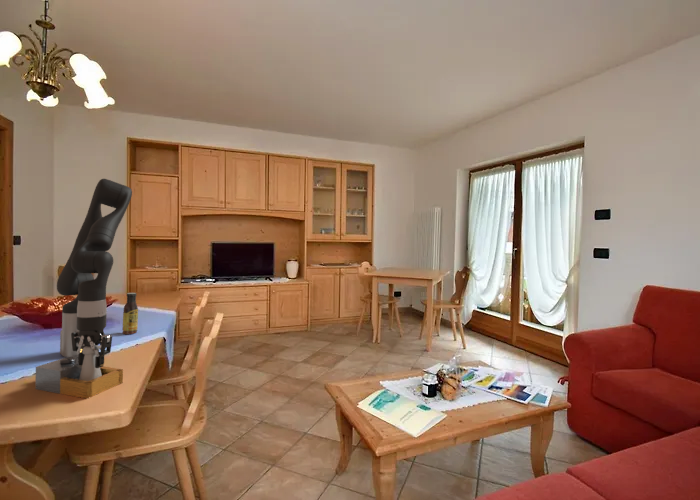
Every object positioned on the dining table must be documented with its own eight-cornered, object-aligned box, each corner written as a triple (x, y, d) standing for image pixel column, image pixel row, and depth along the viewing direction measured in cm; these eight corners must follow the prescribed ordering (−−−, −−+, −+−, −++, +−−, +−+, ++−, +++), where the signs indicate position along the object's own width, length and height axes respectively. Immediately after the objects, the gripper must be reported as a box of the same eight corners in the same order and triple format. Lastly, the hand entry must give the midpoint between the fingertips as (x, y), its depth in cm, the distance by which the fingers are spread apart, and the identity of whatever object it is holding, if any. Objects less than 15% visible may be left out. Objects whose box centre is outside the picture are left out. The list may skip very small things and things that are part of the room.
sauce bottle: (130, 335, 165) (130, 294, 165) (119, 334, 166) (119, 293, 166) (140, 332, 172) (141, 292, 171) (130, 330, 173) (131, 291, 172)
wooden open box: (25, 387, 108) (26, 362, 108) (65, 373, 119) (66, 350, 119) (87, 398, 102) (87, 372, 102) (122, 382, 114) (123, 359, 113)
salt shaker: (87, 381, 112) (88, 342, 112) (105, 382, 112) (106, 343, 112) (74, 389, 106) (75, 348, 106) (93, 389, 107) (94, 348, 106)
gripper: (62, 314, 107) (61, 367, 107) (98, 318, 103) (97, 373, 104) (85, 309, 114) (85, 359, 114) (120, 313, 110) (119, 364, 111)
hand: (91, 365), depth 109 cm, fingers open, 6 cm apart
